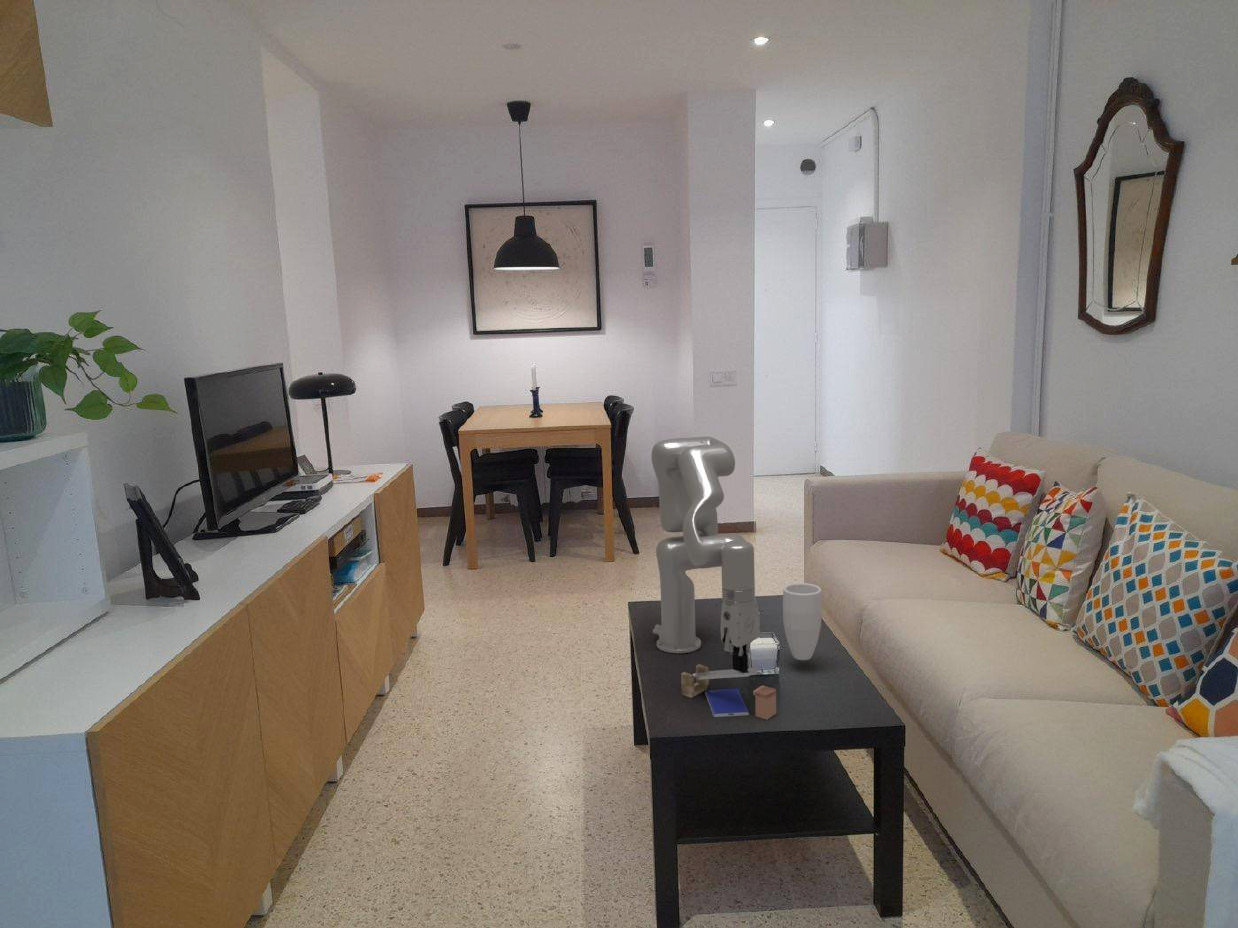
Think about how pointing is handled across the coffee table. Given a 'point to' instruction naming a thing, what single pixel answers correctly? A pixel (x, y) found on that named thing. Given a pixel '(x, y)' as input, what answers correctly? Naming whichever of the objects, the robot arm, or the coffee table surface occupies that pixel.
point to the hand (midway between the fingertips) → (740, 669)
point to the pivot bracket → (688, 683)
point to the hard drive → (726, 702)
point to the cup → (802, 618)
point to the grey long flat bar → (723, 674)
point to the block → (765, 702)
